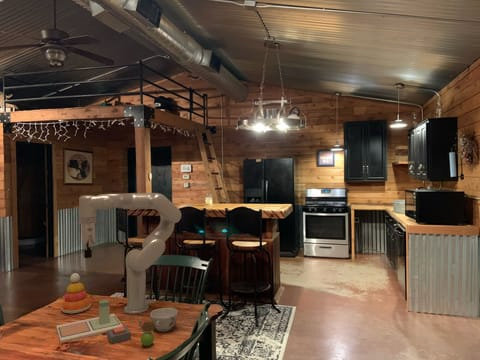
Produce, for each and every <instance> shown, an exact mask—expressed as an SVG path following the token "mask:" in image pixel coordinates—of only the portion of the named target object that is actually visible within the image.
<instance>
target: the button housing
mask: <svg viewBox="0 0 480 360" xmlns="http://www.w3.org/2000/svg"><path fill="white" fill-rule="evenodd" d="M122 326H123V327H124V328H125V333H120V334H116V335H114V333H113V329H110V330H107V332H106V333H107V335H106V336H107V338H108V340H109V342H110V344H111V345H114V344H118V343H122V342H126V341H130V340H131V339H132V332H131V331H130V329H129V328H128V327H127V325H125V326H124V325H122Z"/></svg>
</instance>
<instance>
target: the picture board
mask: <svg viewBox="0 0 480 360" xmlns="http://www.w3.org/2000/svg"><path fill="white" fill-rule="evenodd" d="M121 326H123V324H122V323H121V321H120V320H119V318H118V317H117V316H116V314H115V313H111V314H110V323H107V324H102V325H101V324H100V323H99V316H96V317H91V318H87V319H82V320H77V321H72V322H67V323H63V324H58V325H56V331H57V335H58V340H59V342H60V344H62V343H67V342H71V341H74V340H81V339H84V338H87V337H88V338H89V337H92V336H97V335H101V334H105V333H107V330H110V329H113V328H117V327H121Z"/></svg>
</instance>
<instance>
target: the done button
mask: <svg viewBox="0 0 480 360" xmlns="http://www.w3.org/2000/svg"><path fill="white" fill-rule="evenodd" d="M123 326H124V325H122V326H121V327H117V328H113V333H114V335H116V334H120V333H125V328H124V327H123Z"/></svg>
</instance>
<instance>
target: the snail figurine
mask: <svg viewBox="0 0 480 360" xmlns="http://www.w3.org/2000/svg"><path fill="white" fill-rule="evenodd" d="M138 326H139V329H140V331H141V332H143V334H142V335H141V337H140V342H141V344H142V345H143V346H145V347H149V346H152V344H153V343H154V341H155V336H154V333H153V332H154V329H153V328H154V325H153V322H152V321H151V320H145V321H144V322H143V321H142V319H141V317H140V316H138Z"/></svg>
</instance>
